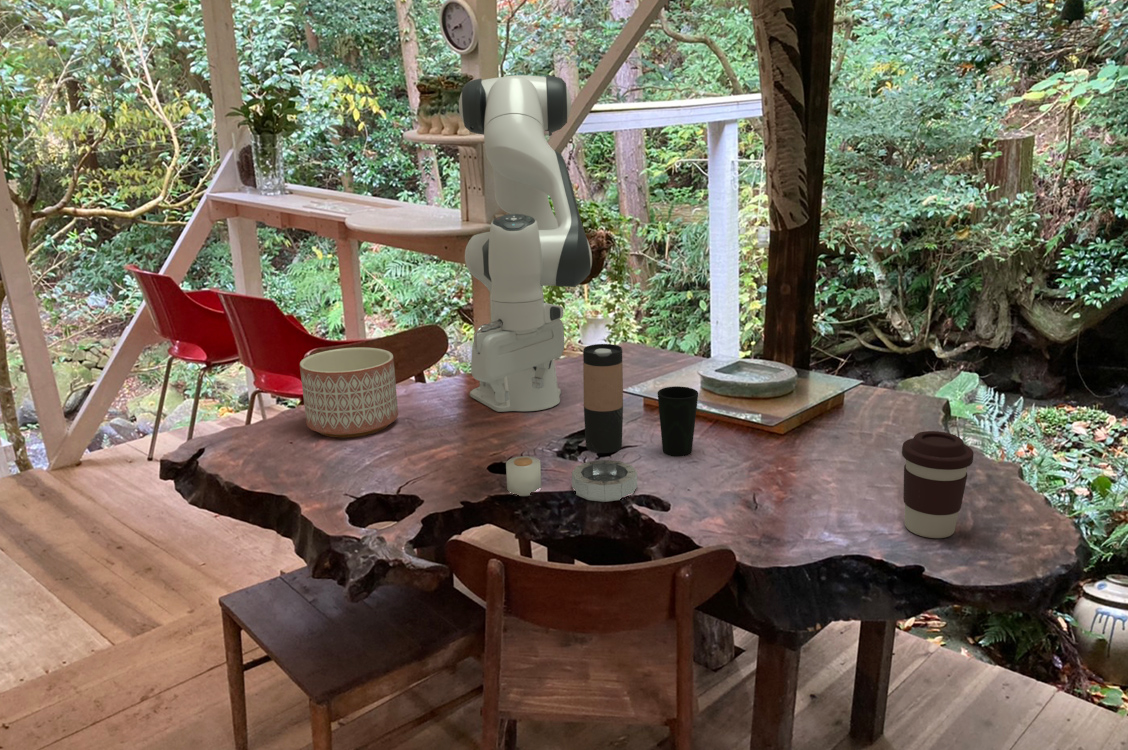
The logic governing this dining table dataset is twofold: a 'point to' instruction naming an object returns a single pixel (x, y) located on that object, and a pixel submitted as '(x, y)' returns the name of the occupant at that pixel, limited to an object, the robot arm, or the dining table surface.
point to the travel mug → (603, 397)
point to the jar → (523, 475)
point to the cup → (677, 419)
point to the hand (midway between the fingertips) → (520, 394)
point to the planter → (349, 391)
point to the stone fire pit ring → (604, 480)
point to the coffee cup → (934, 482)
